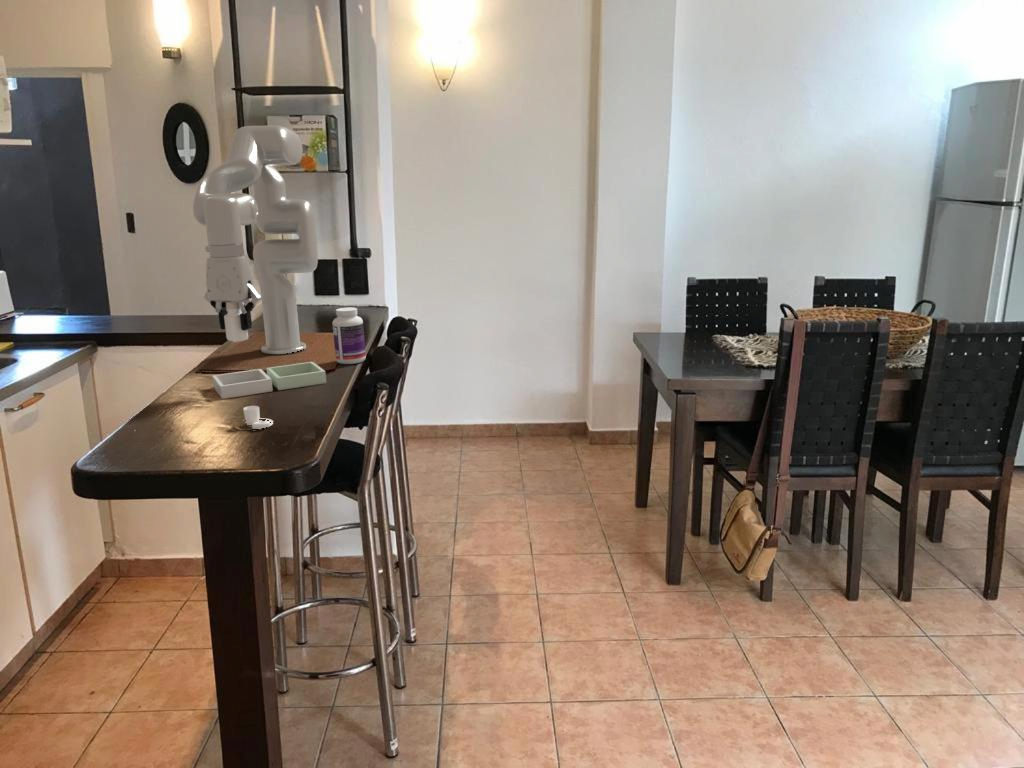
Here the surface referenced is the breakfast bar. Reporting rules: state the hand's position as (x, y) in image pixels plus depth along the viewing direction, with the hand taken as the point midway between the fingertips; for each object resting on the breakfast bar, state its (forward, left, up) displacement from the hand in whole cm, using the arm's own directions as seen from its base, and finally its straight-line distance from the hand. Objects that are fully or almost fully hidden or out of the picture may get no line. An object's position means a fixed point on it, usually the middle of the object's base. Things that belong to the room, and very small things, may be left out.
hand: (236, 327), depth 191 cm
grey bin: (0, 0, -15) cm, 15 cm away
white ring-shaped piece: (+32, -6, -16) cm, 36 cm away
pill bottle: (-12, +31, -15) cm, 36 cm away
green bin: (0, +13, -15) cm, 20 cm away
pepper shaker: (0, 0, -3) cm, 3 cm away
